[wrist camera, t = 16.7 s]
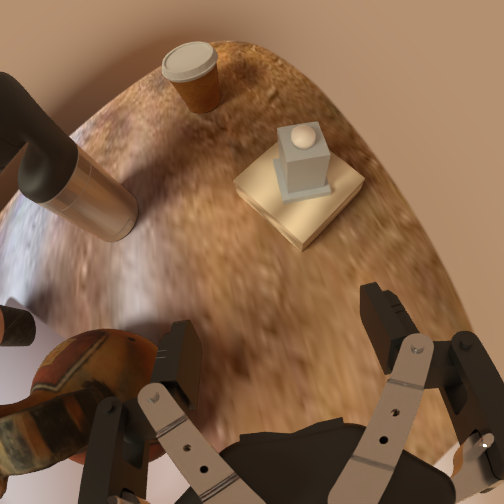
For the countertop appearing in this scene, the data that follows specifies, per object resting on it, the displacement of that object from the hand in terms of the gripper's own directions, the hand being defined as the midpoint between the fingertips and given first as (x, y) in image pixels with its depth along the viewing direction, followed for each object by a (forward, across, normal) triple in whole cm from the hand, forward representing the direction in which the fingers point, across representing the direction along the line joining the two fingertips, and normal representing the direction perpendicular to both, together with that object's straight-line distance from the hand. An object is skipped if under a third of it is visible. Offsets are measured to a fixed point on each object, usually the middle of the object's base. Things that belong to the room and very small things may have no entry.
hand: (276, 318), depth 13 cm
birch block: (+32, -6, +6) cm, 34 cm away
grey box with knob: (+29, -6, +3) cm, 29 cm away
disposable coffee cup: (+48, +6, -10) cm, 50 cm away
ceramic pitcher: (+14, +24, +24) cm, 37 cm away
